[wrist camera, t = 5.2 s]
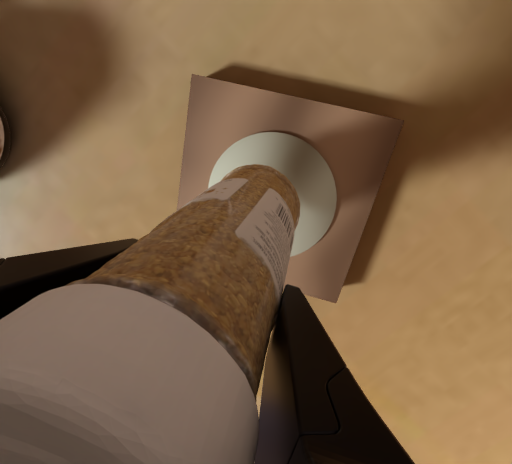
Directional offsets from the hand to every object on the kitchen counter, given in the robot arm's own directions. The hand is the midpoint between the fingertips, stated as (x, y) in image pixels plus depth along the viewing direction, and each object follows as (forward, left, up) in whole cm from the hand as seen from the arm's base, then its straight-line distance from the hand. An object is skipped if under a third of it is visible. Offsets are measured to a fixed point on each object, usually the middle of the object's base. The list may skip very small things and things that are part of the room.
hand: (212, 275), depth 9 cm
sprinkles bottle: (0, 0, -7) cm, 7 cm away
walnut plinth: (0, 0, -13) cm, 13 cm away
